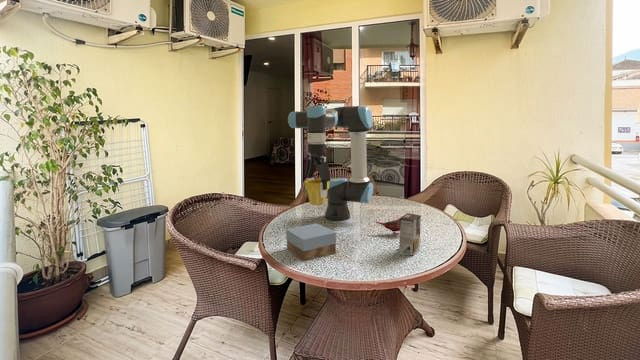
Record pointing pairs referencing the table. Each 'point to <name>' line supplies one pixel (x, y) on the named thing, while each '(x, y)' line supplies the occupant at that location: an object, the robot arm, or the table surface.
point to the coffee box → (409, 234)
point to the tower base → (311, 251)
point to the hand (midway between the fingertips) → (317, 194)
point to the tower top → (310, 236)
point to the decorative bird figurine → (392, 225)
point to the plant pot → (315, 192)
